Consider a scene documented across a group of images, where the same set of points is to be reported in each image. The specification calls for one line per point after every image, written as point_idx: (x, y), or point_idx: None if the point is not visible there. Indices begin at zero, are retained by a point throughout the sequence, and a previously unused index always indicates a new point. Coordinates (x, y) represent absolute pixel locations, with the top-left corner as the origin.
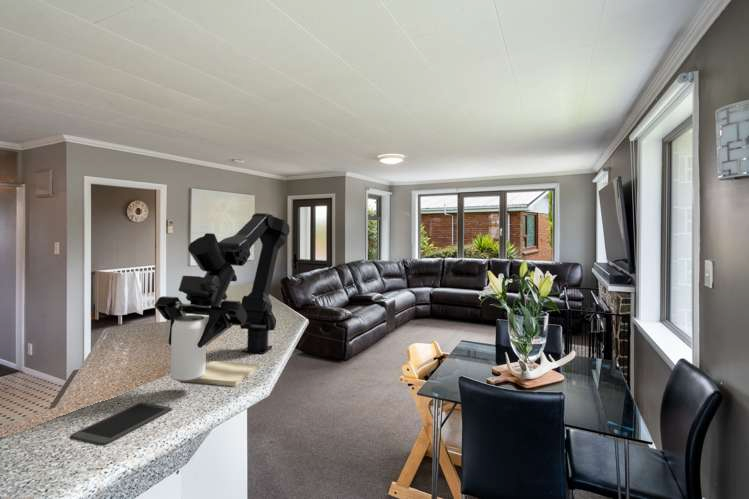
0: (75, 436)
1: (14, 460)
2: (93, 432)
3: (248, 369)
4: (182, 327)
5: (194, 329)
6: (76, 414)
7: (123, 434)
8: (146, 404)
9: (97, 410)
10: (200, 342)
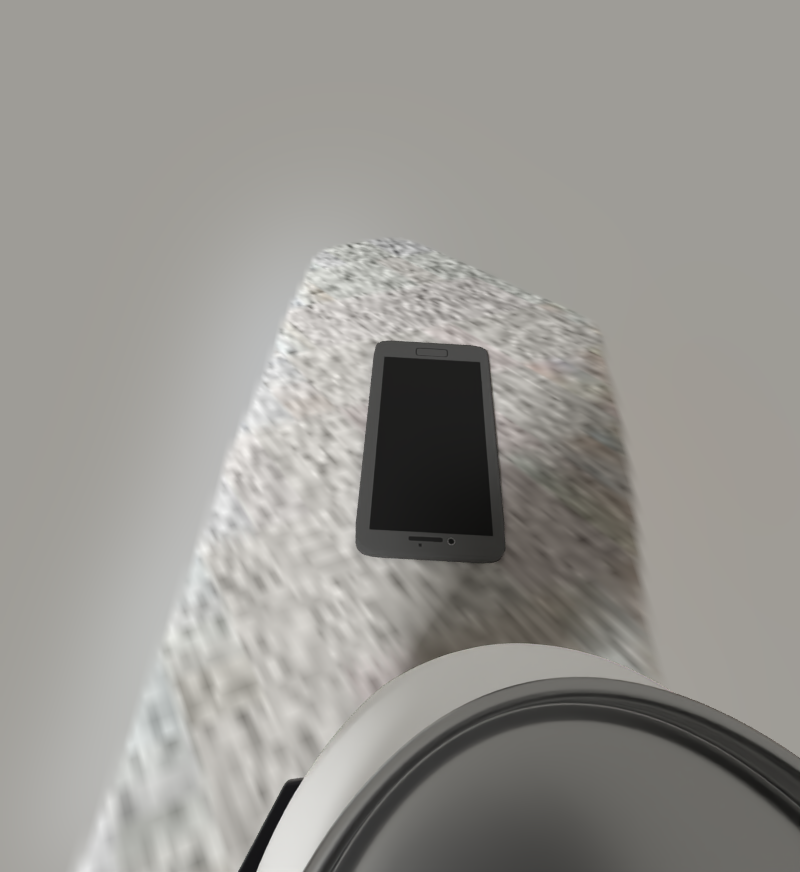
0: (467, 345)
1: (487, 280)
2: (446, 365)
3: None
4: (471, 662)
5: (303, 782)
6: (605, 437)
7: (371, 378)
8: (467, 542)
9: (583, 473)
10: (272, 814)
